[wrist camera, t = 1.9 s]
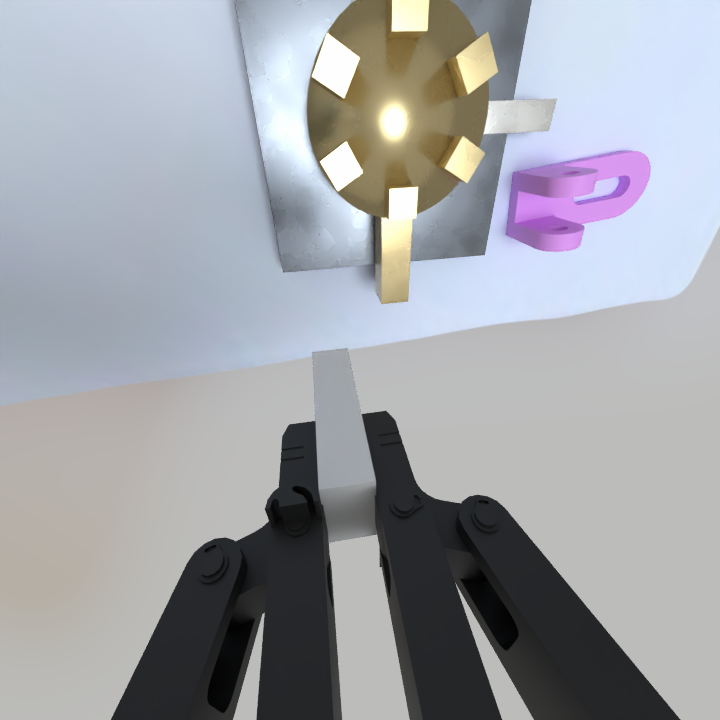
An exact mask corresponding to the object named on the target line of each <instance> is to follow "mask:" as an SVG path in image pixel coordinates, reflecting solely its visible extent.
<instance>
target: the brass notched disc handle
mask: <svg viewBox="0 0 720 720" xmlns="http://www.w3.org/2000/svg"><path fill="white" fill-rule="evenodd" d="M496 73H498V69H497V65H496V61H495V57H494V53H493V49H492V45H491V41H490V37H489V33H488V31H487V32H486V33H484V34H482V35H481V36H479V37H477V35H476V33H475V30H474V28H473V26H472V25H471V23H470V22H469V20H468V19H467V17H466V16H465V14H464V13H463V12H462V11H461V10H460V9H459V8H458V6H457V5H456V4H455V3H454V2H452V1H451V0H355V1H353V2H352V3H351V4H350V5H349V6H348V7H347V8H346V9H345V10H344V11H343V12H342V13H341V14H340V15H339V16H338V17H337V19H336V20H335V21H334V23H333V24H332V26H331V27H330V28H329V30H328V32H327V34H326V35H325V37H324V39H323V41H322V43H321V45H320V48H319V50H318V53H317V55H316V58H315V61H314V64H313V68H312V72H311V75H310V82H309V88H308V94H307V109H306V113H307V127H308V134H309V139H310V143H311V147H312V150H313V153H314V156H315V158H316V161H317V163H318V165H319V167H320V169H321V171H322V173H323V174H324V176H325V177H326V179H327V180H328V181H329V183H330V184H331V186H332V187H333V188H334V189H335V191H336V192H337V193H338V194H339V195H340V196H341V197H342V198H343V199H344V200H346V201H347V202H348V203H349V204H351V205H352V206H354V207H355V208H357V209H358V210H361V211H363V212H365V213H367V214H370V215H373V216H375V289H376V294H377V296H378V298H379V300H380V302H381V304H387V303H397V302H407V301H408V292H409V273H410V254H411V235H412V219H415V218H416V214H418V213H421V212H423V211H425V210H427V209H429V208H431V207H432V206H434V205H436V204H437V203H439V202H440V201H441V200H442V199H444V198H445V197H446V196H447V195H448V194H449V193H450V192H451V191H452V190H453V189H454V188H455V187H456V186H457V185H458V183H459V182H463V183H468V181H469V180H470V178H471V176H472V175H473V173H474V171H475V170H476V168H477V166H478V165H479V163H480V161H481V160H482V158H483V156H484V155H485V152H483V151H482V150H481V149H479V146H480V144H481V140H482V137H483V134H484V130H485V125H486V120H487V115H488V105H489V82H488V79H490V78H491V77H492V76H494V75H495V74H496Z"/></svg>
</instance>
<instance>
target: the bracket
mask: <svg viewBox="0 0 720 720" xmlns="http://www.w3.org/2000/svg"><path fill="white" fill-rule="evenodd" d="M618 176H619V179H620V182H619V185H618V187H617V189H616V190H615V191H614V192H613V193H612V194H610V195H608V196H603V197H598V198H593V199H588V200H583V201H578V202H574V201H573V197H577V196H583V195H587V194H590V193H592V192H593V190H594V186H595V182H596V181H598V180H603V179H608V178H613V177H618ZM649 177H650V162H649V160H648V158H647V156H646V155H645V154H643V153H641V152H637V151H619V152H614V153H609V154H604V155H598V156H593V157H588V158H583V159H578V160H573V161H568V162H563V163H558V164H553V165H547V166H542V167H537V168H532V169H527V170H522V171H517V172H513V177H512V186H511V195H510V204H509V213H508V222H507V231H506V235H507V236H509V237H511V238H514V239H516V240H518V241H520V242H522V243H525V244H527V245H529V246H531V247H533V248H535V249H538V250H542V251H552V252H559V251H568V250H573V249H576V248H578V247H579V246H580V244H581V240H582V235H583V231H584V226H583V225H581V224H584V223H589V222H594V221H599V220H604V219H609V218H613V217H616V216H619V215H621V214H622V213H624V212H626V211H627V210H628V209H629V208H631V207H632V206H633V205H634V204H635V203H636V201H637V200H638V199H639V198H640V196H641V195H642V193H643V192H644V190H645V188H646V186H647V183H648V180H649Z"/></svg>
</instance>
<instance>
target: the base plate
mask: <svg viewBox="0 0 720 720" xmlns="http://www.w3.org/2000/svg"><path fill="white" fill-rule="evenodd" d="M353 1H355V0H235V5H236V11H237V16H238V22H239V27H240V33H241V39H242V44H243V50H244V56H245V61H246V67H247V72H248V78H249V84H250V89H251V95H252V101H253V106H254V112H255V117H256V123H257V129H258V134H259V140H260V145H261V151H262V157H263V162H264V168H265V174H266V179H267V185H268V190H269V196H270V202H271V207H272V213H273V219H274V224H275V230H276V235H277V241H278V247H279V252H280V258H281V264H282V269H283V272H294V271H305V270H317V269H328V268H340V267H351V266H363V265H375V216H373V215H370V214H367V213H365V212H363V211H361V210H358V209H357V208H355V207H354V206H352V205H351V204H349V203H348V202H347V201H346V200H344V199H343V198H342V197H341V196H340V195H339V194H338V193H337V192H336V191H335V189H334V188H333V187H332V186H331V184H330V183H329V181H328V180H327V179H326V177H325V176H324V174H323V173H322V171H321V169H320V167H319V165H318V163H317V161H316V158H315V156H314V153H313V150H312V147H311V143H310V139H309V134H308V127H307V113H306V109H307V94H308V88H309V82H310V75H311V72H312V68H313V64H314V61H315V58H316V55H317V53H318V50H319V48H320V45H321V43H322V41H323V39H324V37H325V35H326V34H327V32H328V30H329V28H330V27H331V26H332V24H333V23H334V21H335V20H336V19H337V17H338V16H339V15H340V14H341V13H342V12H343V11H344V10H345V9H346V8H347V7H348V6H349V5H350V4H351V3H352V2H353ZM451 1H452V2H454V3H455V4H456V5H457V6H458V8H459V9H460V10H461V11H462V12H463V13H464V14H465V16H466V17H467V19H468V20H469V22H470V23H471V25H472V26H473V28H474V30H475V33H476V35H477V37H479V36H481V35H482V34H484V33H486V32H487V31H488V33H489V37H490V41H491V45H492V49H493V53H494V57H495V61H496V65H497V69H498V73H496V74H495V75H494V76H492V77H491V78H490V79H488V82H489V105H488V115H487V120H486V125H485V130H484V134H483V137H482V140H481V144H480V146H479V149H481V150H482V151H483V152H485V155H484V156H483V158H482V160H481V161H480V163H479V165H478V166H477V168H476V170H475V171H474V173H473V175H472V176H471V178H470V180H469V181H468V183H463V182H459V183H458V185H457V186H456V187H455V188H454V189H453V190H452V191H451V192H450V193H449V194H448V195H447V196H446V197H445V198H444V199H442V200H441V201H440V202H439V203H437V204H436V205H434V206H432V207H431V208H429V209H427V210H425V211H423V212H421V213H418V214H416V218H415V219H412V235H411V254H410V261H421V260H432V259H444V258H455V257H467V256H479V255H485V250H486V245H487V240H488V234H489V229H490V223H491V218H492V212H493V207H494V202H495V196H496V191H497V185H498V180H499V175H500V169H501V164H502V158H503V153H504V147H505V142H506V137H507V133H519V132H541V131H549V129H550V124H551V120H552V116H553V112H554V108H555V104H556V100H557V99H536V100H513V99H514V93H515V88H516V82H517V77H518V71H519V66H520V61H521V55H522V50H523V44H524V39H525V33H526V28H527V23H528V17H529V12H530V6H531V1H532V0H451Z"/></svg>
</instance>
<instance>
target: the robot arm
mask: <svg viewBox="0 0 720 720" xmlns="http://www.w3.org/2000/svg"><path fill="white" fill-rule="evenodd" d="M312 358H313V377H314V378H313V379H314V399H315V400H314V401H315V421H312V422H305V423H297V424H290V425H289V426H288V427H287V429H286V431H285V433H284V435H283V436H282V452H281V465H280V480H279V488H278V489H276V490H275V491H274V492H273V493H272V495H271V496H270V498H269V499H268V501H267V504H266V508H265V511H266V513H267V516H268V519H269V522H268V523H266V524H265V526H263V527H262V528H261V529H259V530H257V531H256V532H254V533H252V534H250V535H248V536H246V537H244V538H242V539H240V540H238V541H236V542H235V541H234V540H231V539H228V538H217V539H213V540H211V541H209V542H207V543H205V544H204V545H203V546H201V547H200V548H199V549H198V550H197V551H196V552H195V553H194V554H193V556H192V557H191V559H190V560H189V562H188V563H187V565H186V567H185V569H184V571H183V573H182V575H181V577H180V579H179V581H178V583H177V585H176V587H175V589H174V592H173V593H172V596H171V598H170V600H169V602H168V604H167V606H166V608H165V610H164V612H163V614H162V616H161V618H160V620H159V622H158V624H157V627H156V628H155V630H154V633H153V635H152V637H151V639H150V641H149V643H148V645H147V647H146V649H145V651H144V653H143V655H142V657H141V659H140V661H139V664H138V665H137V667H136V669H135V671H134V673H133V676H132V678H131V680H130V682H129V684H128V686H127V688H126V690H125V692H124V694H123V696H122V698H121V700H120V702H119V704H118V706H117V708H116V710H115V713H114V715H113V717H112V719H111V720H233V717H234V714H235V710H236V707H237V703H238V699H239V696H240V692H241V689H242V685H243V681H244V678H245V674H246V671H247V667H248V663H249V660H250V656H251V653H252V649H253V646H254V642H255V638H256V635H257V631H258V628H259V624H260V620H261V617H262V614H263V613H265V617H264V630H263V642H262V656H261V668H260V681H259V695H258V707H257V720H342V712H341V699H340V684H339V670H338V655H337V643H336V628H335V613H334V598H333V584H332V570H331V561H330V556H329V542H335V541H341V540H347V539H353V538H359V537H365V536H370V535H376V534H377V535H378V541H379V546H380V567H382V570H383V576H384V581H385V587H386V592H387V597H388V603H389V608H390V614H391V620H392V625H393V631H394V635H395V642H396V647H397V652H398V657H399V663H400V669H401V674H402V679H403V685H404V691H405V696H406V701H407V707H408V712H409V717H410V720H502V719H501V715H500V712H499V710H498V707H497V704H496V701H495V698H494V695H493V692H492V689H491V686H490V683H489V680H488V677H487V674H486V672H485V669H484V666H483V663H482V660H481V657H480V654H479V651H478V648H477V646H476V642H475V639H474V637H473V634H472V631H471V628H470V625H469V622H468V619H467V616H466V613H465V610H464V607H463V604H462V601H461V599H460V596H459V593H458V590H457V587H456V584H457V586H458V588H459V590H460V591H461V593H462V595H463V597H464V598H465V600H466V602H467V604H468V605H469V607H470V609H471V610H472V612H473V614H474V616H475V617H476V619H477V621H478V623H479V624H480V626H481V628H482V630H483V631H484V633H485V635H486V637H487V638H488V640H489V642H490V644H491V645H492V647H493V649H494V651H495V652H496V654H497V656H498V658H499V659H500V661H501V663H502V665H503V666H504V668H505V669H506V672H507V673H508V675H509V677H510V678H511V680H512V682H513V684H514V685H515V687H516V689H517V691H518V692H519V694H520V696H521V698H522V699H523V701H524V703H525V705H526V706H527V708H528V710H529V712H530V713H531V715H532V717H533V718H534V720H680V719H679V718H678V716H677V715H676V714H675V713H674V711H673V710H672V709H671V708H670V707H669V706H668V704H667V703H666V702H665V701H664V700H663V698H662V697H661V696H660V695H659V694H658V692H657V691H656V690H655V689H654V687H653V686H652V685H651V684H650V683H649V681H648V680H647V679H646V678H645V677H644V675H643V674H642V673H641V672H640V671H639V669H638V668H637V667H636V666H635V664H634V663H633V662H632V661H631V660H630V658H629V657H628V656H627V655H626V654H625V652H624V651H623V650H622V649H621V648H620V646H619V645H618V644H617V643H616V642H615V640H614V639H613V638H612V637H611V636H610V634H609V633H608V632H607V631H606V629H605V628H604V627H603V626H602V625H601V623H600V622H599V621H598V620H597V619H596V617H595V616H594V615H593V614H592V613H591V611H590V610H589V609H588V608H587V607H586V605H585V604H584V603H583V602H582V601H581V599H580V598H579V597H578V596H577V594H576V593H575V592H574V591H573V590H572V588H571V587H570V586H569V585H568V584H567V583H566V581H565V580H564V579H563V578H562V577H561V575H560V574H559V573H558V572H557V570H556V569H555V568H554V567H553V566H552V564H551V563H550V562H549V561H548V559H547V558H546V557H545V556H544V555H543V554H542V552H541V551H540V550H539V549H538V547H537V546H536V545H535V544H534V543H533V541H532V540H531V539H530V538H529V537H528V535H527V534H526V533H525V532H524V531H523V529H522V528H521V527H520V526H519V525H518V523H517V522H516V521H515V520H514V518H513V517H512V516H511V515H510V514H509V512H508V511H507V510H506V509H505V508H504V507H503V506H502V505H501V504H500V503H498V502H497V501H496V500H494V499H492V498H490V497H487V496H482V495H474V496H470V497H468V498H467V499H465V500H464V501H463V502H462V503H454V502H448V501H442V500H438V499H434V498H433V497H431V496H429V495H427V494H426V493H425V492H423V491H422V490H421V489H420V487H419V486H418V485H417V483H416V481H415V479H414V476H413V473H412V470H411V467H410V464H409V461H408V458H407V455H406V452H405V449H404V446H403V444H402V439H401V436H400V434H399V430H398V428H397V425H396V422H395V420H394V419H393V418H392V417H391V415H390V414H389V413H388V412H387V411H382V412H374V413H367V414H361V409H360V405H359V400H358V396H357V391H356V386H355V382H354V377H353V373H352V368H351V363H350V358H349V354H348V349H347V348H345V349H336V350H327V351H318V352H312ZM455 583H456V584H455Z"/></svg>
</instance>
